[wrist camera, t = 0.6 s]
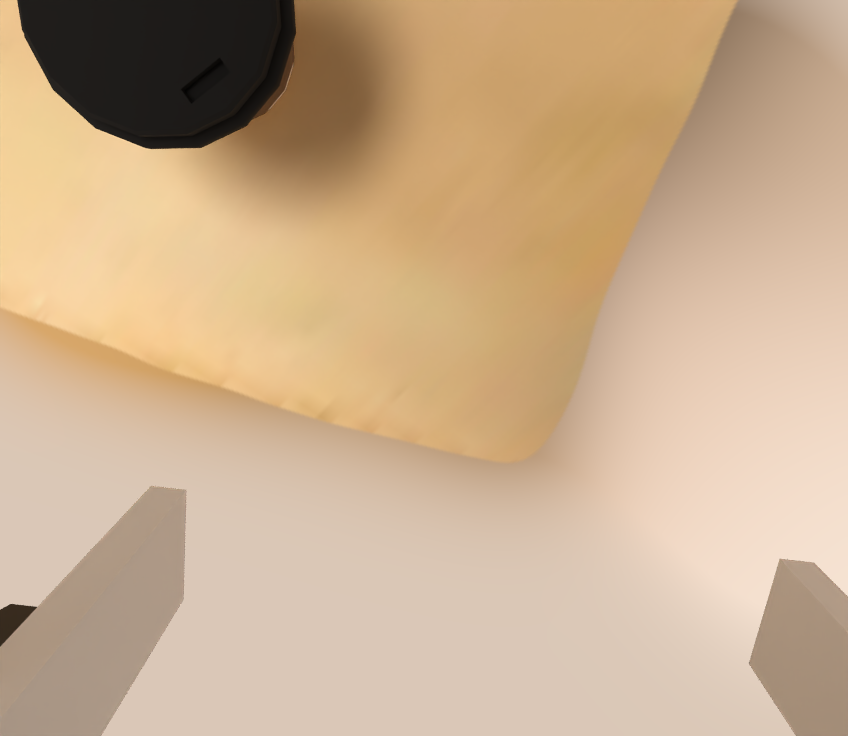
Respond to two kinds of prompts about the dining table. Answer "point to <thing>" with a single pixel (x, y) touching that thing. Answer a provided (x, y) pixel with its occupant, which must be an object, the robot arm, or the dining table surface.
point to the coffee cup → (164, 63)
